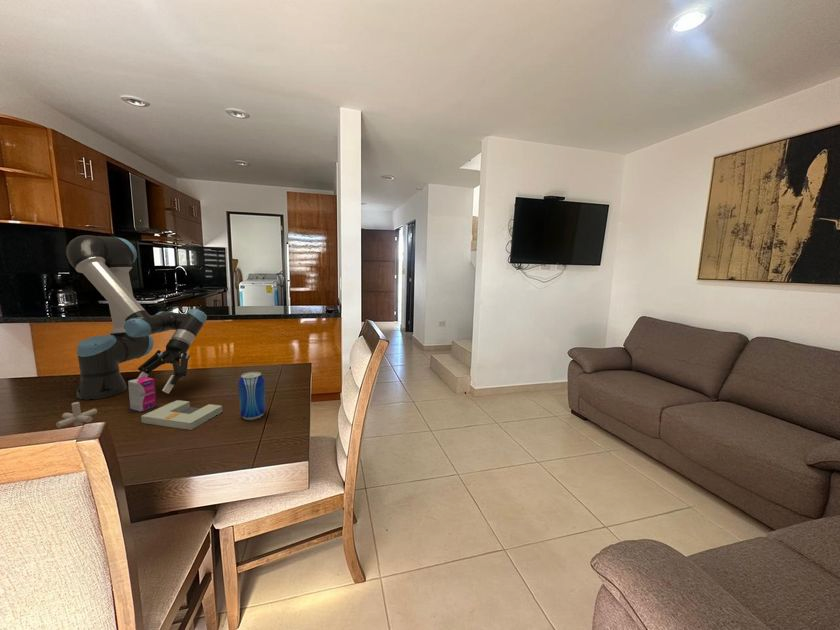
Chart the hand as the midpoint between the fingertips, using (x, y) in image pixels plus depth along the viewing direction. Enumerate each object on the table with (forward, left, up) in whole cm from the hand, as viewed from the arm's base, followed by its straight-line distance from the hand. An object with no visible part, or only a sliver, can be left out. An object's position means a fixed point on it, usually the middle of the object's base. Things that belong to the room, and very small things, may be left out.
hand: (150, 390), depth 127 cm
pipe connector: (+18, -11, -7) cm, 22 cm away
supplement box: (+1, -2, -7) cm, 7 cm away
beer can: (+11, +40, -7) cm, 42 cm away
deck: (+10, +16, -7) cm, 20 cm away
